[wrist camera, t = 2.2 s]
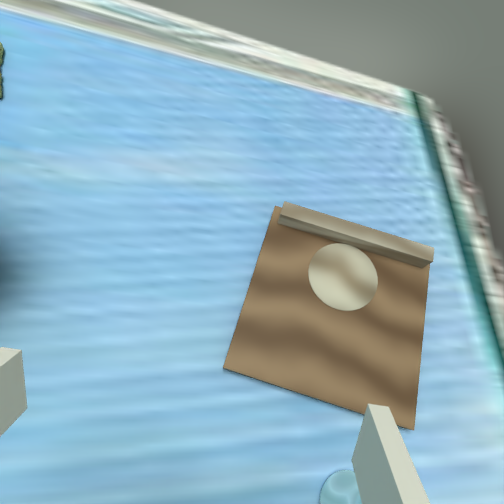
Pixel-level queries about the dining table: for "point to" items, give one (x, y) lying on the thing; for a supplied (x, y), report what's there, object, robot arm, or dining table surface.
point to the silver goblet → (340, 489)
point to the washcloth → (0, 52)
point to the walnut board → (335, 313)
